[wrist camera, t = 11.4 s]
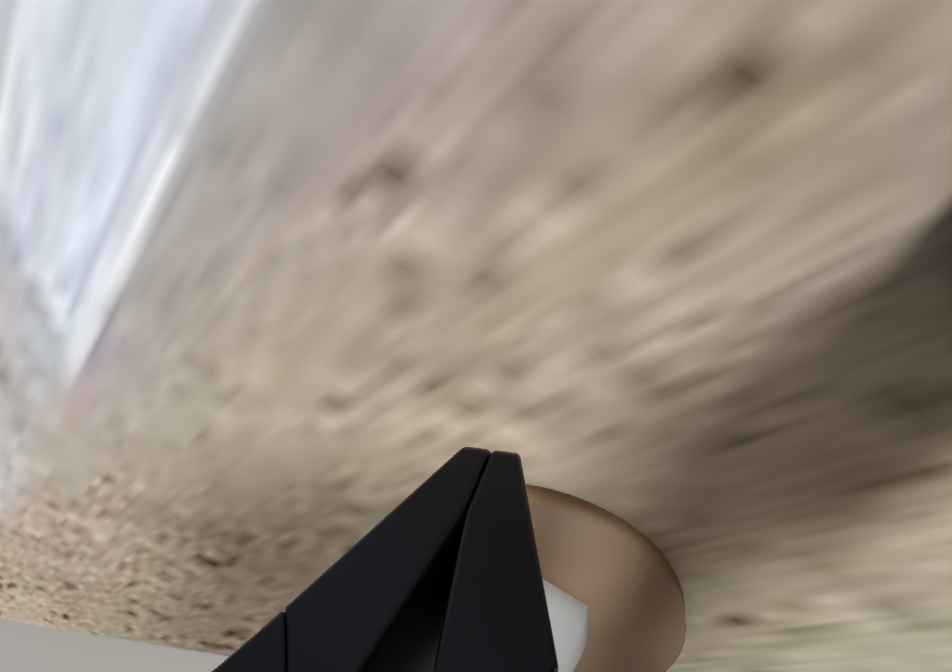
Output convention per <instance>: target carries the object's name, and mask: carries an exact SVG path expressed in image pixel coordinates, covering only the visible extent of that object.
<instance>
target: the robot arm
mask: <svg viewBox="0 0 952 672" xmlns="http://www.w3.org/2000/svg"><path fill="white" fill-rule="evenodd" d="M212 672H558V661H557V655H556V650H555V644H554V639H553V633H552V628H551V622H550V617H549V612H548V606H547V601H546V595H545V590H544V584H543V579H542V573H541V568H540V562H539V557H538V551H537V546H536V540H535V535H534V529H533V524H532V518H531V513H530V507H529V502H528V496H527V491H526V485H525V480H524V475H523V469H522V464H521V459H520V456H519V455H518V454H517V453H511V452H504V451H493V452H492V453H491V452H490V451H489V450H487V449H481V448H473V447H464V448H462V449H461V450H459V451H458V452H457V453H456V454H455V455H454V456H453V457H452V458H451V459H449V460H448V461H447V462H446V463H445V464H444V465H443V466H442V467H441V468H440V469H438V470H437V471H436V472H435V473H434V474H433V475H432V476H431V477H430V478H428V479H427V480H426V481H425V482H424V483H423V484H422V485H421V486H420V487H418V488H417V489H416V490H415V491H414V492H413V493H412V494H411V495H410V496H409V497H407V498H406V499H405V500H404V501H403V502H402V503H401V504H400V505H399V506H397V507H396V508H395V509H394V510H393V511H392V512H391V513H390V514H389V515H387V516H386V517H385V518H384V519H383V520H382V521H381V522H380V523H379V524H378V525H376V526H375V527H374V528H373V529H372V530H371V531H370V532H369V533H368V534H366V535H365V536H364V537H363V538H362V539H361V540H360V541H359V542H358V543H356V544H355V545H354V546H353V547H352V548H351V549H350V550H349V551H348V552H347V553H345V554H344V555H343V556H342V557H341V558H340V559H339V560H338V561H337V562H335V563H334V564H333V565H332V566H331V567H330V568H329V569H328V570H327V571H325V572H324V573H323V574H322V575H321V576H320V577H319V578H318V579H317V580H315V581H314V582H313V583H312V584H311V585H310V586H309V587H308V588H307V589H306V590H304V591H303V592H302V593H301V594H300V595H299V596H298V597H297V598H296V599H294V600H293V601H292V602H291V603H290V604H289V605H288V606H287V607H286V609H285V612H280V613H279V614H278V615H276V616H275V617H274V618H273V619H272V620H271V621H270V622H269V623H268V624H266V625H265V626H264V627H263V628H262V629H261V630H260V631H259V632H258V633H256V634H255V635H254V636H253V637H252V638H251V639H249V640H248V641H247V642H246V643H245V644H244V645H243V646H241V647H240V648H239V649H238V650H237V651H236V652H234V653H233V654H232V655H231V656H230V657H229V658H227V659H226V660H225V661H224V662H223V663H222V664H221V665H219V666H218V667H217V668H216V669H214V670H213V671H212Z"/></svg>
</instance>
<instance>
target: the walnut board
mask: <svg viewBox="0 0 952 672" xmlns="http://www.w3.org/2000/svg"><path fill="white" fill-rule="evenodd" d="M525 485H526V484H525ZM526 491H527V496H528V502H529V507H530V513H531V518H532V524H533V529H534V535H535V540H536V546H537V551H538V557H539V562H540V568H541V573H542V578H543V579H544V580H546V581H548V582H549V583H551V584H553V585H554V586H556V587H558V588H559V589H561V590H563V591H564V592H566V593H568V594H569V595H571V596H573V597H574V598H576V599H578V600H579V601H581V602H583V603H584V604H586V605H588V618H589V641H588V643H587V645H586V647H585V650H584V652H583V654H582V656H581V658H580V660H579V662H578V663H577V665H576V667H575V669H574V671H573V672H666V671H667V670H668V669H669V668H670V667H671V666H672V665H673V663H674V662H675V660H676V659H677V657H678V656H679V654H680V652H681V649H682V647H683V644H684V639H685V630H686V628H685V610H684V600H683V593H682V590H681V587H680V584H679V581H678V578H677V576H676V575H675V573H674V571H673V569H672V567H671V565H670V564H669V563H668V561H667V560H666V559H665V557H664V556H663V555H662V554H661V552H660V551H659V550H658V549H657V548H656V547H655V546H654V545H653V544H652V543H651V542H650V541H649V540H648V539H647V538H646V537H645V536H643V535H642V534H641V533H640V532H638V531H637V530H636V529H634V528H633V527H632V526H631V525H629V524H628V523H626V522H624V521H623V520H621V519H620V518H618V517H616V516H615V515H613V514H612V513H610V512H608V511H606V510H604V509H602V508H600V507H598V506H596V505H594V504H592V503H589V502H587V501H584V500H582V499H579V498H576V497H574V496H571V495H568V494H565V493H561V492H558V491H554V490H551V489H547V488H542V487H537V486H531V485H526Z"/></svg>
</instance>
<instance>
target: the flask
mask: <svg viewBox="0 0 952 672" xmlns="http://www.w3.org/2000/svg"><path fill="white" fill-rule="evenodd" d="M542 579H543V578H542ZM543 584H544V590H545V595H546V601H547V606H548V612H549V617H550V622H551V628H552V633H553V639H554V644H555V650H556V655H557V661H558V672H573V671H574V669H575V667H576V665H577V663H578V662H579V660H580V658H581V656H582V654H583V652H584V650H585V647H586V645H587V643H588V641H589V618H588V605H586V604H584V603H583V602H581V601H579V600H578V599H576V598H574V597H573V596H571V595H569V594H568V593H566V592H564V591H563V590H561V589H559V588H558V587H556V586H554V585H553V584H551V583H549V582H548V581H546V580H544V579H543Z"/></svg>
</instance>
